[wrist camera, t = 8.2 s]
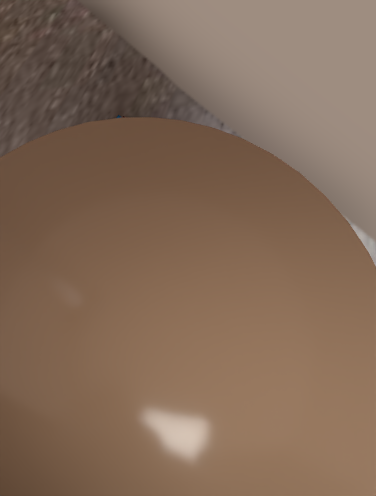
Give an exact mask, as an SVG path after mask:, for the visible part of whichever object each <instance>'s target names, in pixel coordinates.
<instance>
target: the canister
mask: <svg viewBox="0 0 376 496" xmlns="http://www.w3.org/2000/svg"><path fill="white" fill-rule="evenodd" d="M0 496H376V266H375V264H374V262H373V260H372V258H371V256H370V254H369V252H368V251H367V249H366V248H365V246H364V245H363V243H362V242H361V240H360V239H359V237H358V236H357V234H356V233H355V231H354V230H353V229H352V227H351V226H350V224H349V223H348V221H347V220H346V219H345V218H344V217H343V216H342V214H341V213H340V212H339V211H338V210H337V209H336V208H335V206H334V205H333V204H332V203H331V202H330V201H329V199H328V198H327V197H326V196H325V195H324V194H323V193H322V192H320V191H319V190H318V189H317V188H316V187H315V186H314V185H313V184H311V183H310V182H309V181H308V180H307V179H306V178H305V177H304V176H303V175H301V174H300V173H299V172H298V171H296V170H295V169H293V168H292V167H290V166H289V165H287V164H286V163H284V162H283V161H282V160H280V159H279V158H277V157H276V156H274V155H273V154H271V153H269V152H267V151H266V150H264V149H262V148H260V147H258V146H256V145H254V144H252V143H250V142H248V141H246V140H244V139H242V138H239V137H237V136H234V135H231V134H229V133H226V132H223V131H220V130H218V129H215V128H212V127H208V126H203V125H199V124H195V123H191V122H186V121H182V120H173V119H163V118H154V117H132V118H114V119H107V120H100V121H93V122H87V123H83V124H79V125H76V126H72V127H68V128H64V129H61V130H57V131H55V132H52V133H50V134H47V135H45V136H42V137H40V138H37V139H35V140H32V141H30V142H28V143H26V144H24V145H22V146H20V147H19V148H17V149H15V150H13V151H11V152H9V153H8V154H6V155H4V156H2V157H0Z"/></svg>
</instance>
